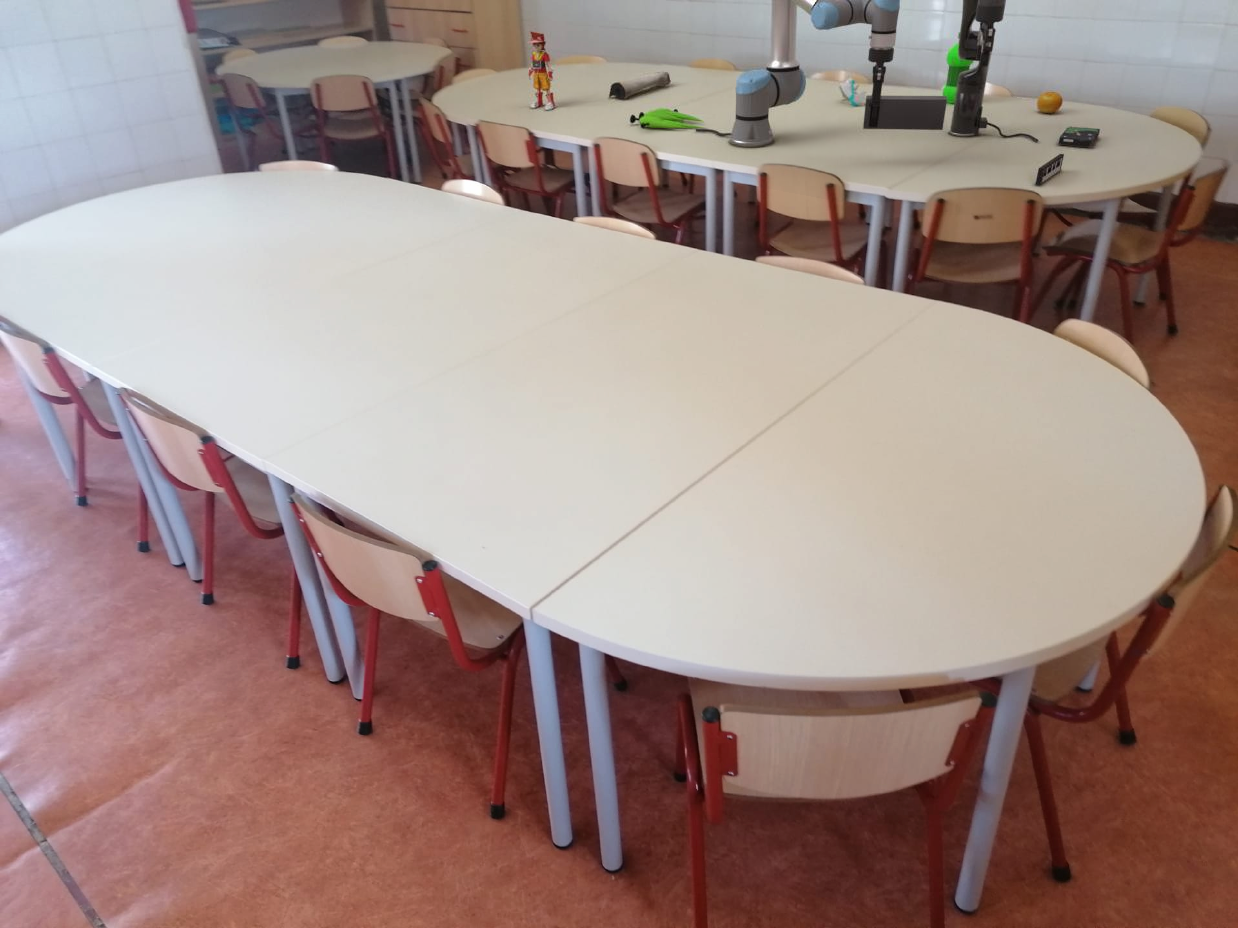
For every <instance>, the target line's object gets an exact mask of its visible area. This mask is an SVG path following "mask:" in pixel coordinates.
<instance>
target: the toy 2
mask: <svg viewBox="0 0 1238 928" xmlns="http://www.w3.org/2000/svg"><path fill="white" fill-rule="evenodd" d="M636 121H638V123H639V125H640V128H641V129H645V128H653V129H657V128H661V129H705V127H704V126H699V125H694V124H687V123H683V121H693V122H705V121H704V120H702V119H700V118H698V117H695V116H692V115H689V114H685V113H682V112H679V110H678V109H677V108H674V109H673V110H671V109H668V108H664V107H663V108H657V109H653V110H649V111H647V112H646V113H644V112H643V111H640V112H639V115H638V117H636V115H635V114H631V115H630V118H629V123H630V124H634V123H635V122H636Z"/></svg>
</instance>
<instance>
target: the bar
mask: <svg viewBox="0 0 1238 928" xmlns="http://www.w3.org/2000/svg"><path fill="white" fill-rule="evenodd" d="M865 96H866V97H865V100H866V104H864V105H865V106H864V116H863V123H862V124H863V125H862V129H863V130H905V131H906V130H907V131H908V130H911V131H913V130H917V131H919V130H920V131H943V129H944V122H945V117H946V110H947V103H948V102H947V97H946V96H943V95H881V98H880V108H879V116H878V125H877V127H869V119H870V110H871V107H869V104H870V105H871V103H872V97H873V96H872V95H865Z"/></svg>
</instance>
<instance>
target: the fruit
mask: <svg viewBox="0 0 1238 928" xmlns="http://www.w3.org/2000/svg"><path fill="white" fill-rule="evenodd" d="M1063 102H1064V101H1063V97H1062V95H1061V94H1060V93H1058V92H1056V91H1046V92H1043V93H1042V94H1041V95H1039V97H1038V99H1037V101H1036V108H1037V110H1038V111H1040V112H1041V113H1044V114H1053V113H1056V112H1058V111H1059V110H1060V109H1061V107H1062V106H1063Z"/></svg>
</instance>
